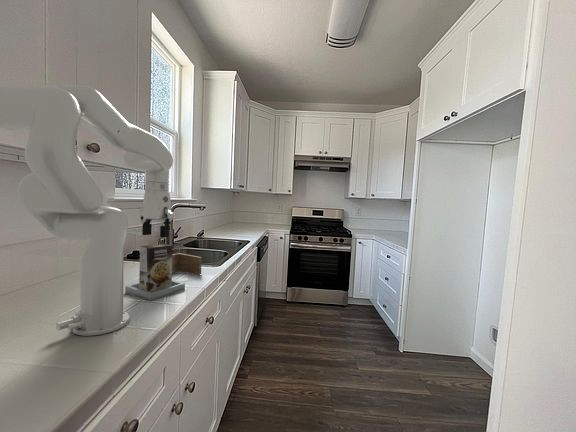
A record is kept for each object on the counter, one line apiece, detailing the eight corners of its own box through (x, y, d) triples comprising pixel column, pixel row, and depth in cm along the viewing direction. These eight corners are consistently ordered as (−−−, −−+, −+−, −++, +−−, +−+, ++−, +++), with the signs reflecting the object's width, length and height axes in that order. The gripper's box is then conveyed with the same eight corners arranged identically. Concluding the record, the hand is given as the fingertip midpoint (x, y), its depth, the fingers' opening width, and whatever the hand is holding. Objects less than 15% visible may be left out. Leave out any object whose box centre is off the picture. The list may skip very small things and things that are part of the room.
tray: (150, 301, 89) (150, 294, 89) (125, 292, 96) (125, 286, 96) (184, 289, 102) (184, 283, 101) (160, 282, 108) (160, 277, 108)
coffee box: (147, 294, 93) (147, 248, 92) (138, 290, 97) (138, 245, 96) (172, 288, 100) (173, 245, 99) (163, 284, 104) (163, 242, 103)
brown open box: (167, 284, 107) (168, 264, 106) (145, 278, 113) (145, 259, 113) (201, 274, 122) (201, 257, 121) (179, 269, 129) (179, 253, 128)
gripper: (182, 189, 95) (180, 237, 96) (151, 188, 104) (149, 233, 104) (163, 187, 89) (162, 239, 89) (131, 187, 97) (130, 234, 98)
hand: (155, 235), depth 97 cm, fingers open, 9 cm apart
